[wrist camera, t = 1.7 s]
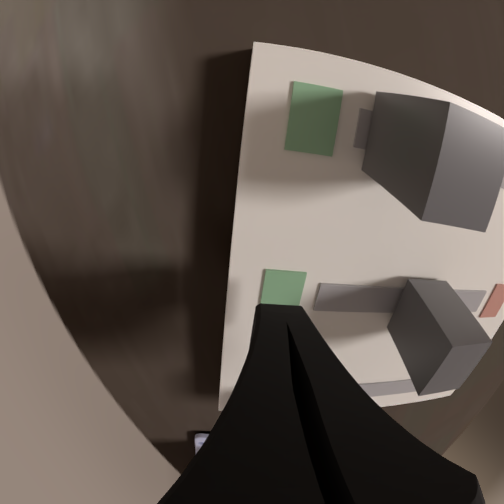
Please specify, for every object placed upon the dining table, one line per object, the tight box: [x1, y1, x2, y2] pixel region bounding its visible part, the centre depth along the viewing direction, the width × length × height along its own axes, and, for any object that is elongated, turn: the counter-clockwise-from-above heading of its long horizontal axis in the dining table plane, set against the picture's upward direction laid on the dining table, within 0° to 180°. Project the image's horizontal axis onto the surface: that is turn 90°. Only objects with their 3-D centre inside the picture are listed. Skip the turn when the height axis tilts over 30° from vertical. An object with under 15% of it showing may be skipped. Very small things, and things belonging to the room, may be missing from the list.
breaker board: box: [218, 42, 504, 411], centre depth 10 cm, size 16×15×5 cm
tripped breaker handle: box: [387, 279, 492, 396], centre depth 10 cm, size 2×2×4 cm
